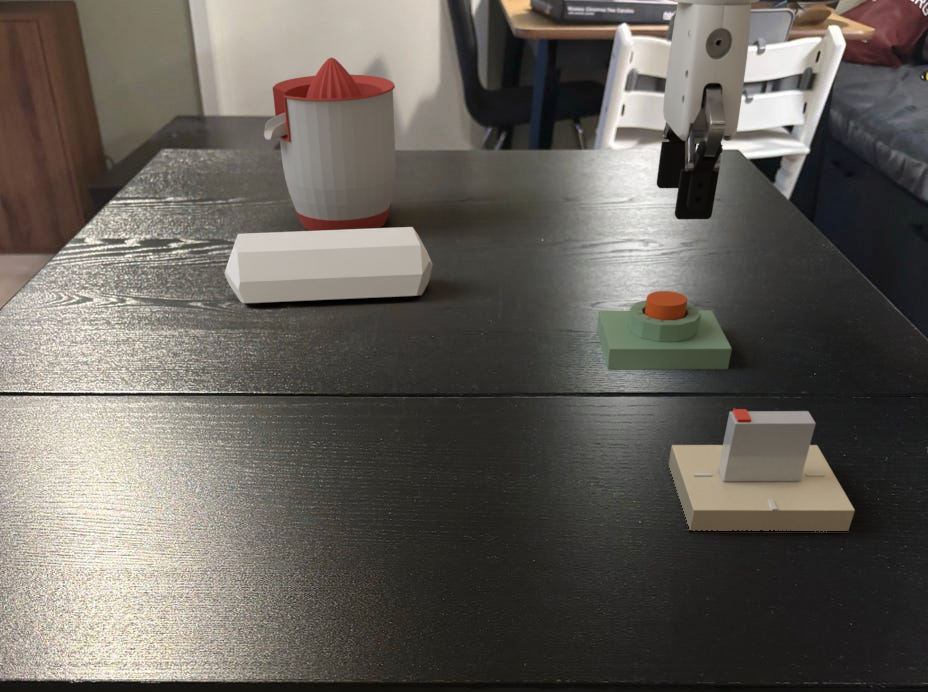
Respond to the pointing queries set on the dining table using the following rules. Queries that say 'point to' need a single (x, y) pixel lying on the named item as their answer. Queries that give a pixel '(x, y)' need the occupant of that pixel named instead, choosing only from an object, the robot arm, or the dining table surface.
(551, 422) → the dining table surface
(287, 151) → the citrus juicer
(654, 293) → the button
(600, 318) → the button block
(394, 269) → the crystal
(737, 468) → the tap handle
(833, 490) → the plate
